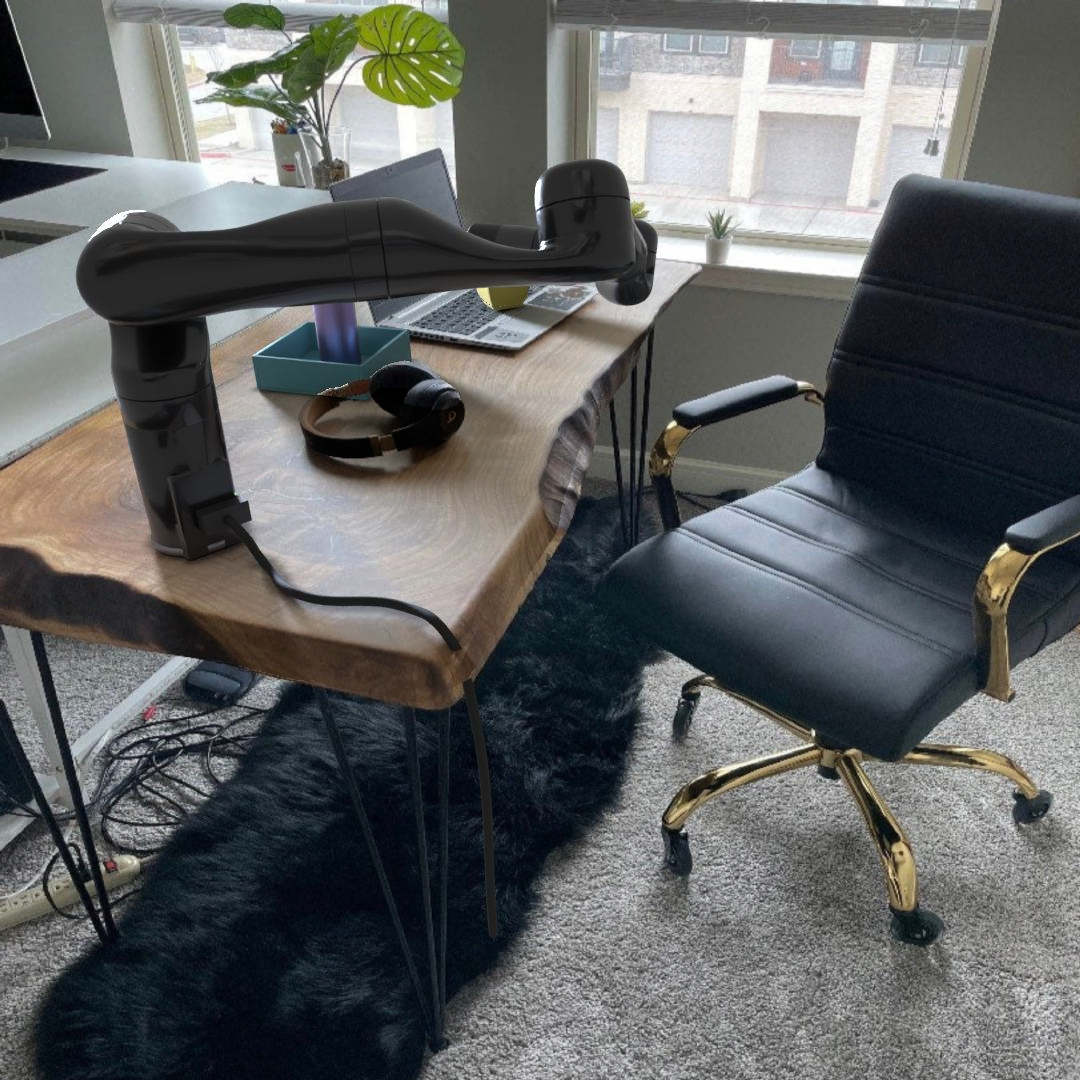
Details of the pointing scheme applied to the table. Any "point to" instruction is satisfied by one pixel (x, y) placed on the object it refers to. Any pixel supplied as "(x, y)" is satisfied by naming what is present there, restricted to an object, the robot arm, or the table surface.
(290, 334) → the box
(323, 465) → the table surface
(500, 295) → the flower pot
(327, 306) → the beverage can
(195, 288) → the robot arm
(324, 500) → the table surface
